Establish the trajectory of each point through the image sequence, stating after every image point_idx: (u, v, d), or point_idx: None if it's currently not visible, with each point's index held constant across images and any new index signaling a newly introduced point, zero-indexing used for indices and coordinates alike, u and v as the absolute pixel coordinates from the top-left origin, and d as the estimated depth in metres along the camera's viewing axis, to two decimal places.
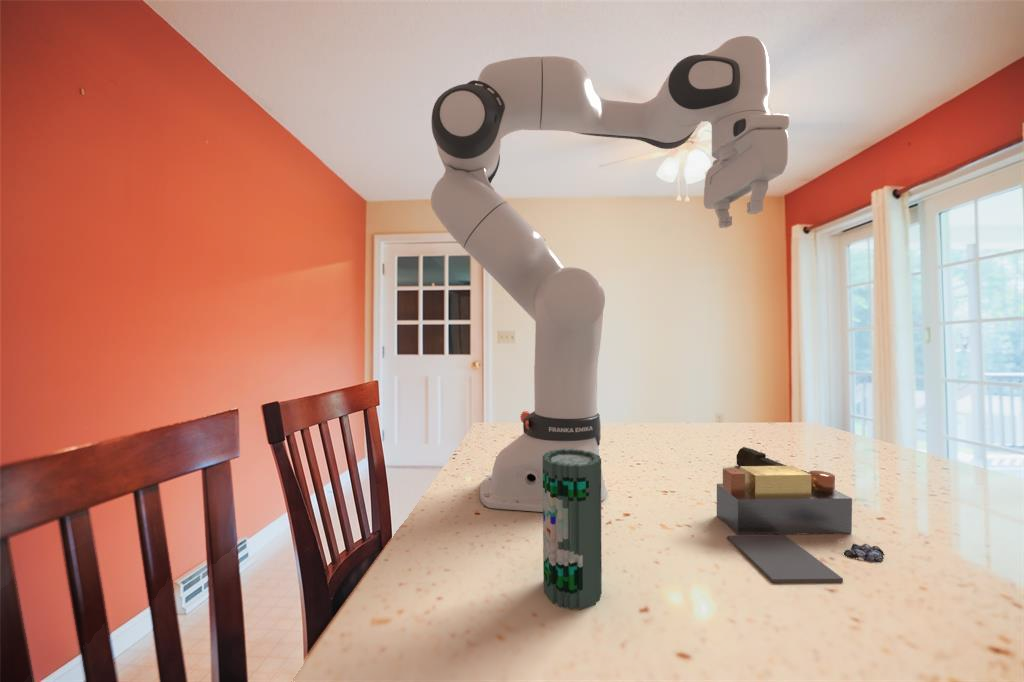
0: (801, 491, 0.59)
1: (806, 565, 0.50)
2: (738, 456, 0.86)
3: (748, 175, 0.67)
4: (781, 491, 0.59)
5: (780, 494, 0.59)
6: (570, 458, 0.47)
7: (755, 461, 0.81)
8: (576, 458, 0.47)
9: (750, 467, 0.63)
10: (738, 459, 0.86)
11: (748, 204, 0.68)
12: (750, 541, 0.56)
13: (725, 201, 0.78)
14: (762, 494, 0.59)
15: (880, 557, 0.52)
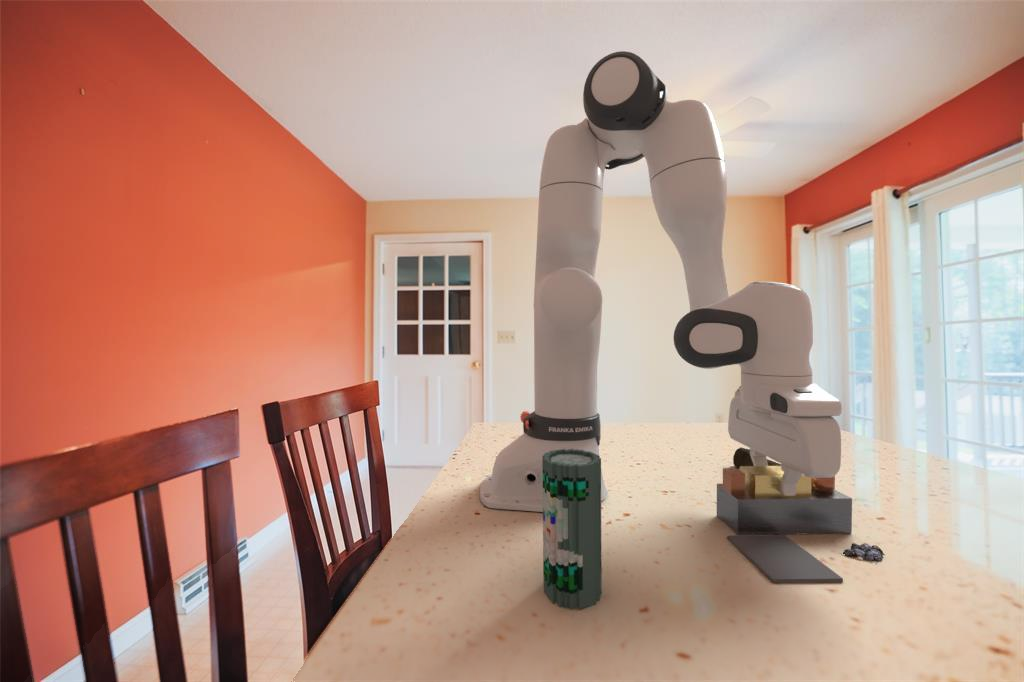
0: (801, 491, 0.59)
1: (806, 565, 0.50)
2: (735, 456, 0.86)
3: (789, 461, 0.55)
4: None
5: (780, 494, 0.59)
6: (570, 458, 0.47)
7: None
8: (576, 458, 0.47)
9: (750, 467, 0.63)
10: (735, 459, 0.86)
11: (778, 482, 0.59)
12: (750, 541, 0.56)
13: None
14: (762, 494, 0.59)
15: (879, 556, 0.52)
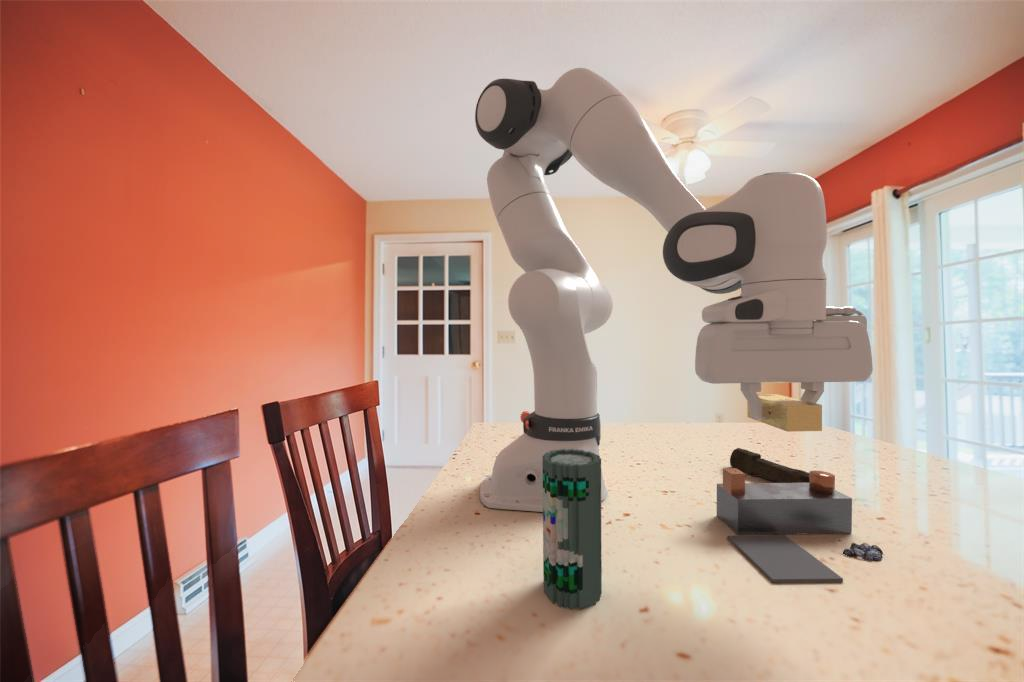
0: (779, 423, 0.49)
1: (806, 565, 0.50)
2: (732, 457, 0.86)
3: None
4: None
5: (763, 421, 0.52)
6: (570, 458, 0.47)
7: (752, 462, 0.81)
8: (576, 458, 0.47)
9: (779, 395, 0.54)
10: (732, 460, 0.86)
11: None
12: (750, 541, 0.56)
13: None
14: None
15: (879, 556, 0.52)
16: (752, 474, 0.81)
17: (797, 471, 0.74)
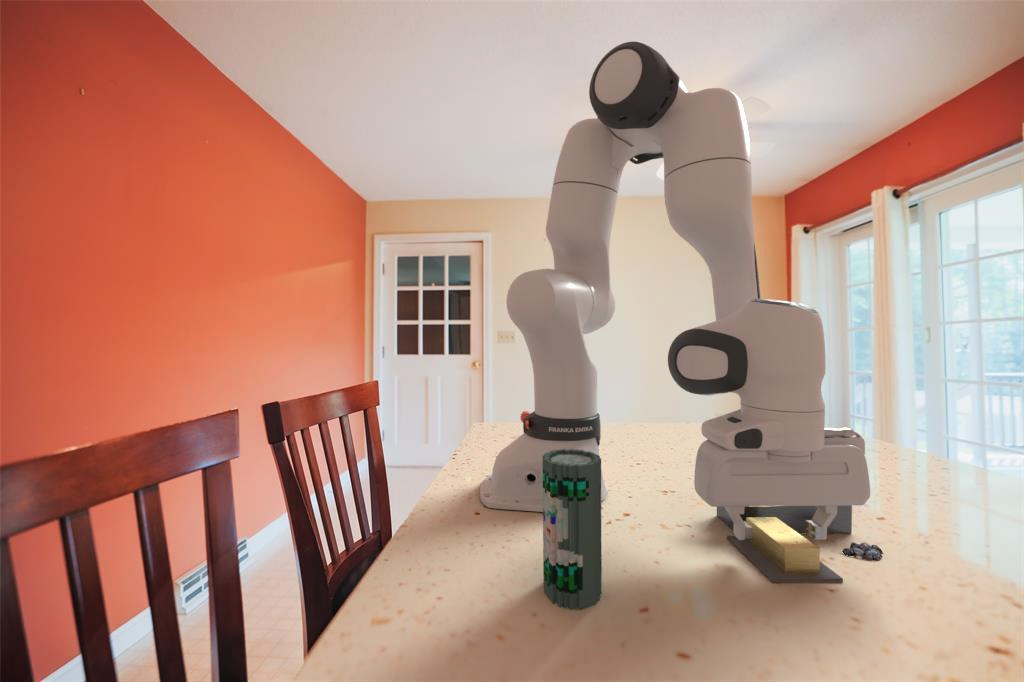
0: (777, 561, 0.50)
1: None
2: None
3: None
4: (762, 548, 0.52)
5: (762, 551, 0.53)
6: (570, 458, 0.47)
7: None
8: (576, 458, 0.47)
9: (777, 521, 0.55)
10: None
11: None
12: None
13: None
14: (750, 541, 0.55)
15: (878, 556, 0.52)
16: None
17: None
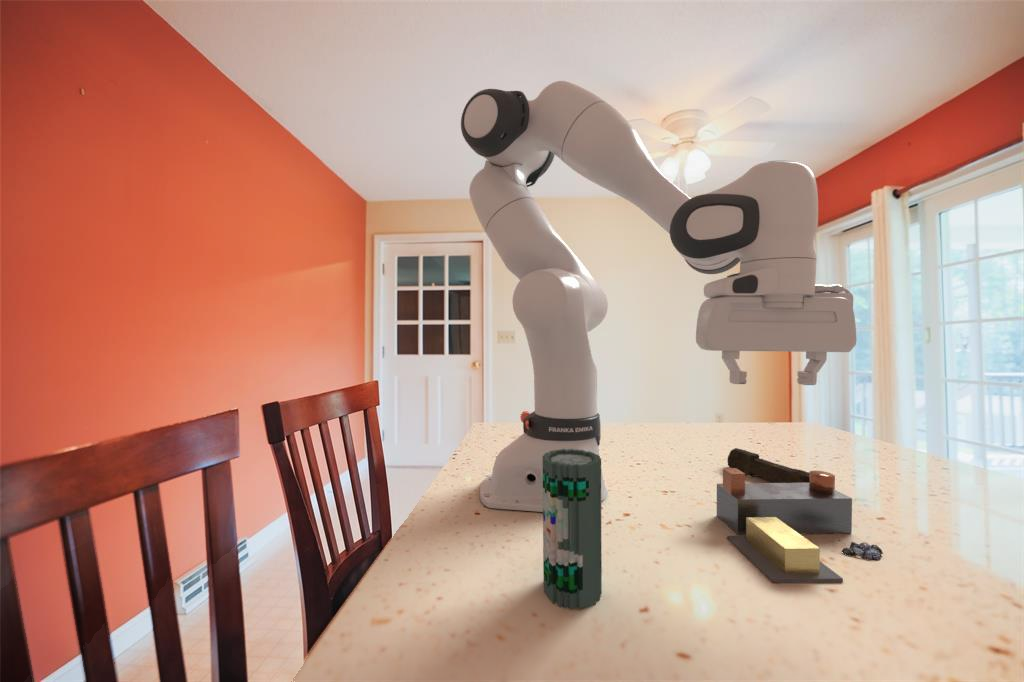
0: (777, 561, 0.50)
1: None
2: (730, 457, 0.85)
3: None
4: (762, 548, 0.52)
5: (762, 551, 0.53)
6: (570, 458, 0.47)
7: (750, 463, 0.81)
8: (576, 458, 0.47)
9: (777, 521, 0.55)
10: (730, 460, 0.85)
11: None
12: None
13: None
14: (750, 541, 0.55)
15: (878, 555, 0.52)
16: (751, 474, 0.81)
17: (797, 471, 0.74)
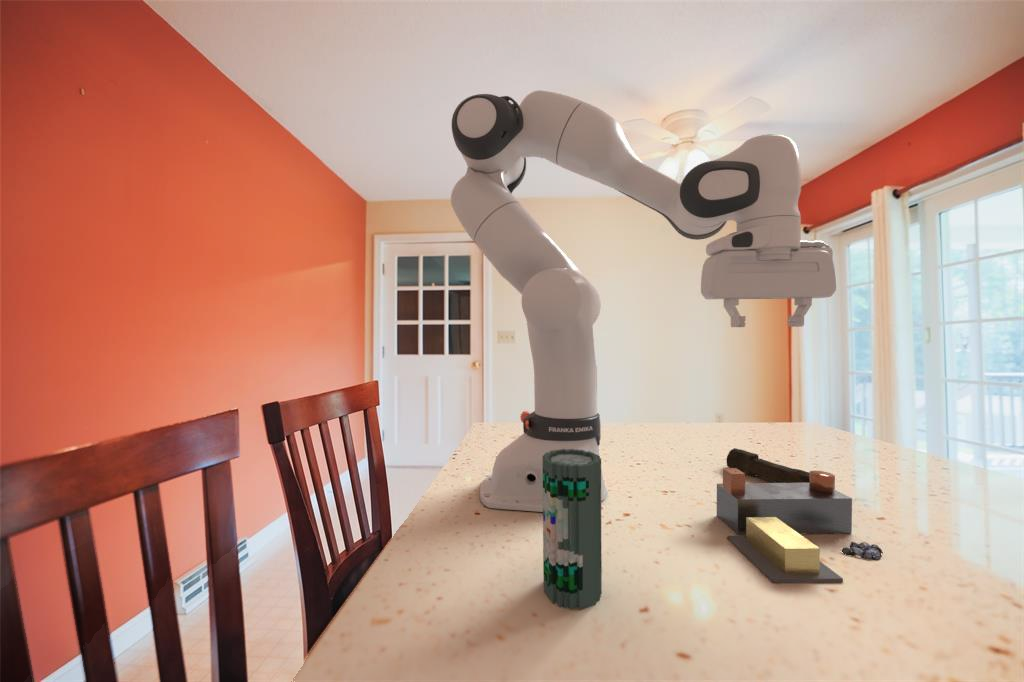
0: (777, 561, 0.50)
1: None
2: (729, 458, 0.85)
3: None
4: (762, 548, 0.52)
5: (762, 551, 0.53)
6: (570, 458, 0.47)
7: (750, 463, 0.81)
8: (576, 458, 0.47)
9: (777, 521, 0.55)
10: (729, 461, 0.85)
11: None
12: None
13: (799, 296, 0.67)
14: (750, 541, 0.55)
15: (878, 555, 0.52)
16: (750, 474, 0.81)
17: (797, 471, 0.74)
